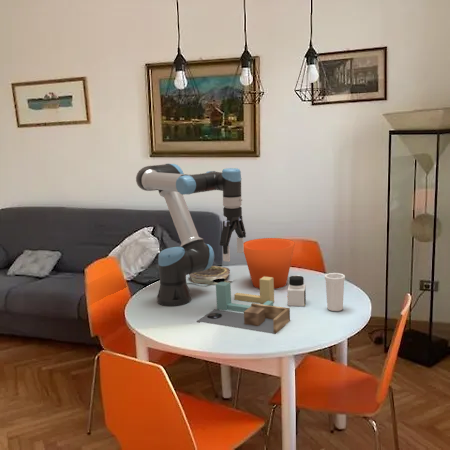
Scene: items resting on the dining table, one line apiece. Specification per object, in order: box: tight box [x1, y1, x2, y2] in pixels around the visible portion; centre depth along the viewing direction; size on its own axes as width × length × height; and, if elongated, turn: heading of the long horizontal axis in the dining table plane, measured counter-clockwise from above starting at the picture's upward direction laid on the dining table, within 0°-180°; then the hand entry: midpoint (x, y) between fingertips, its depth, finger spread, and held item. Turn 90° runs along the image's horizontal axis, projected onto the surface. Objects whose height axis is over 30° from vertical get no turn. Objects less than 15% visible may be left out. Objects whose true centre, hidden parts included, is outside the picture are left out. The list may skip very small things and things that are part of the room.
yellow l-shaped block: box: [233, 277, 275, 305], centre depth 230 cm, size 18×4×11 cm, turn 61°
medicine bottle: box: [286, 274, 307, 307], centre depth 224 cm, size 7×7×12 cm
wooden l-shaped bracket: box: [250, 302, 291, 334], centre depth 203 cm, size 16×13×6 cm
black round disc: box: [206, 313, 222, 319], centre depth 214 cm, size 6×6×1 cm
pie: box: [188, 265, 235, 287], centre depth 268 cm, size 28×27×5 cm
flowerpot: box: [243, 237, 296, 290], centre depth 252 cm, size 25×25×20 cm
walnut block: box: [243, 307, 265, 326], centre depth 205 cm, size 6×6×5 cm
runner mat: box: [196, 308, 282, 335], centre depth 208 cm, size 34×14×1 cm, turn 61°
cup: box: [324, 272, 346, 312], centre depth 215 cm, size 8×8×14 cm
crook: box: [215, 281, 274, 313], centre depth 222 cm, size 20×12×11 cm, turn 61°
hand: (233, 256), depth 220 cm, fingers open, 13 cm apart
